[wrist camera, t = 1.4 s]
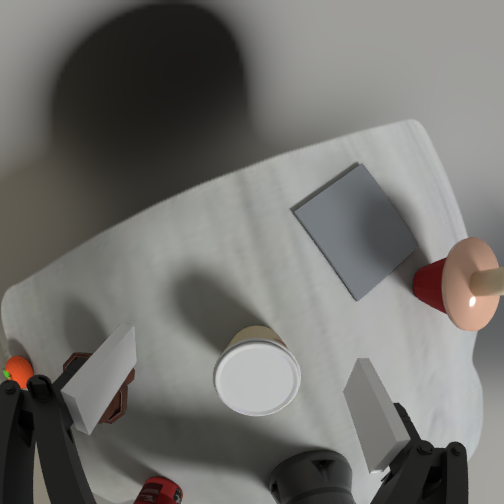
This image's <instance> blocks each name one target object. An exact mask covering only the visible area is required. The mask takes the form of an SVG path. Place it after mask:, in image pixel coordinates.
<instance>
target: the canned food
mask: <svg viewBox="0 0 504 504" xmlns="http://www.w3.org/2000/svg"><path fill="white" fill-rule="evenodd" d="M182 498H183V493H182V490H181V488H180V487H179V486H178V485H177V484H175V483H174V482H172V481H170V480H168V479H165V478H162V477H151V478H149V479H148V480H147V481H146V482H145V484H144V486H143V488H142V489H141V491H140V493H139V495H138V496H137V498H136V500H135V502H134V504H181V501H182Z"/></svg>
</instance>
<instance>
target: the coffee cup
mask: <svg viewBox="0 0 504 504" xmlns="http://www.w3.org/2000/svg"><path fill="white" fill-rule="evenodd" d="M300 380H301V373H300V368H299V364H298V362H297V360H296V358H295V357H294V355H293V354H292V353H291V352H290V351H289V350H288V348H287V347H286V345H285V344H284V342H283V341H282V340H281V338H280V337H279V336H278V335H277V334H276V333H275V332H274V331H273V330H271V329H269V328H267V327H264V326H250V327H247V328H244V329H242V330H241V331H239V332H238V333H237V334H236V335H235V336H234V338H233V339H232V341H231V342H230V343H229V345H228V346H227V348H226V349H225V351H224V352H223V353H222V354H221V355H220V357H219V358H218V360H217V362H216V364H215V367H214V371H213V383H214V387H215V390H216V392H217V394H218V396H219V397H220V399H221V400H222V401H223V402H224V403H225V404H226V405H227V406H228V407H230V408H231V409H232V410H234V411H236V412H238V413H241V414H244V415H248V416H265V415H269V414H272V413H275V412H277V411H279V410H281V409H283V408H284V407H285V406H286V405H287V404H289V403H290V402H291V400H292V399H293V398H294V397H295V395H296V393H297V391H298V389H299V386H300Z"/></svg>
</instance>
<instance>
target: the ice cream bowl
mask: <svg viewBox="0 0 504 504" xmlns="http://www.w3.org/2000/svg"><path fill="white" fill-rule="evenodd" d="M92 355H93V353H73V354H72V355H71V357H70V358H69V359H68V360H67V361H66V362H65V363H64V365H63V373H64V371H65V370H66V369H67V368H68V367H69V366H70V365H71V364H72V362H73V361H75V360H77V359H79V358H84V359H86V360H88V359H89V358H90V357H91V356H92ZM134 374H135V370H134V368H132V370H131V371H130V373H129V374H128V376H127V377H126V379H125V380H124V382H123V383H122V385H121V387H120V388H119V390H118V391H117V393H116V394H115V396H114V397H113V399H112V401H111V402H110V404H109V405H108V407H107V408H106V410H105V412H104V413H103V415H102V416H101V418H100V420H99V421H98V423H97V424H100V423H103V422H105V423H110V424H112V423H113V422H114V421H116V420H117V419H118V418H120V417H121V416H122V415H124V413H125V411H126V409H127V390H128V386H127V385H128V384H129V383H130V382H132V381H133V380H134Z"/></svg>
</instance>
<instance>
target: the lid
mask: <svg viewBox="0 0 504 504" xmlns="http://www.w3.org/2000/svg"><path fill="white" fill-rule="evenodd" d="M500 295H504V267H500V268H499V266H498V263H497V260H496V257H495V255H494V253H493V251H492V250H491V248H490V247H489V246H488V245H487V244H486V243H485V242H484V241H483V240H481V239H479V238H474V237H470V238H466V239H463V240H461V241H459V242H458V243H456V244H455V245H454V246H453V247H452V249H451V250H450V252H449V254H448V256H447V258H446V261H445V264H444V268H443V273H442V298H443V303H444V307H445V310H446V312H447V315H448V317H449V318H450V320H451V321H452V323H453V324H454V325H455V326H456V327H458V328H459V329H461V330H465V331H477V330H479V329H481V328H483V327H484V326H485V325H486V324H487V323H488V322H489V321H490V320H491V318H492V317H493V315H494V313H495V311H496V308H497V305H498V302H499V297H500Z"/></svg>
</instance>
